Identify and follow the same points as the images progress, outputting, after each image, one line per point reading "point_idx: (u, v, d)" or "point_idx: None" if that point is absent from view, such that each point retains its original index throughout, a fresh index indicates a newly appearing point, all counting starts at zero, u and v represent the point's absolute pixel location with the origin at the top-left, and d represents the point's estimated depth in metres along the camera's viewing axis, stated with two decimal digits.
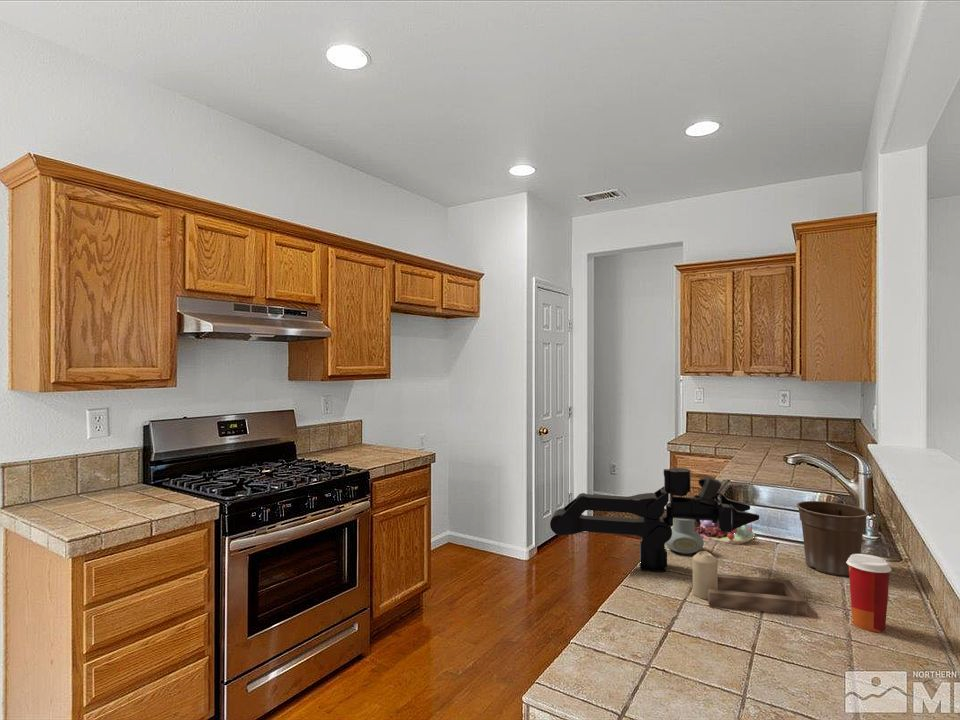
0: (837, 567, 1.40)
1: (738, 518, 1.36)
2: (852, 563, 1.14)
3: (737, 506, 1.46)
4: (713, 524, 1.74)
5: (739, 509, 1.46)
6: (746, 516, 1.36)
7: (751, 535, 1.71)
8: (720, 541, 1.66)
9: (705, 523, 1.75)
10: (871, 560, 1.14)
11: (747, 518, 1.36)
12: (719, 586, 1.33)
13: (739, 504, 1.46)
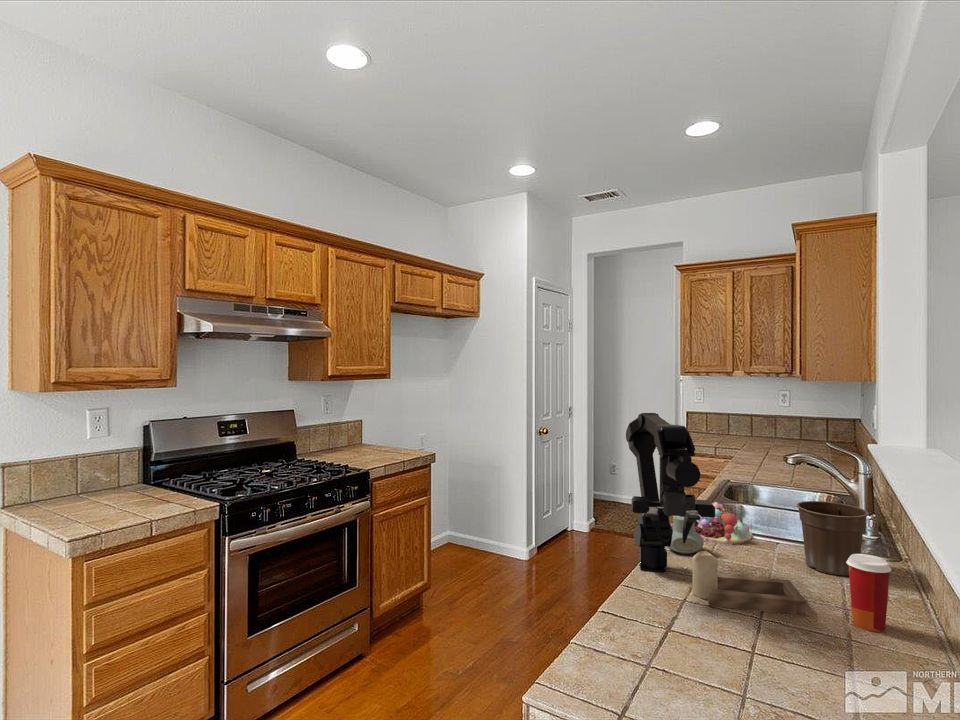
0: (837, 567, 1.40)
1: None
2: (852, 563, 1.14)
3: (684, 529, 1.31)
4: (710, 524, 1.74)
5: (683, 531, 1.31)
6: (655, 528, 1.32)
7: (748, 535, 1.71)
8: (717, 541, 1.66)
9: (702, 523, 1.75)
10: (871, 560, 1.14)
11: None
12: (719, 586, 1.33)
13: (683, 532, 1.30)
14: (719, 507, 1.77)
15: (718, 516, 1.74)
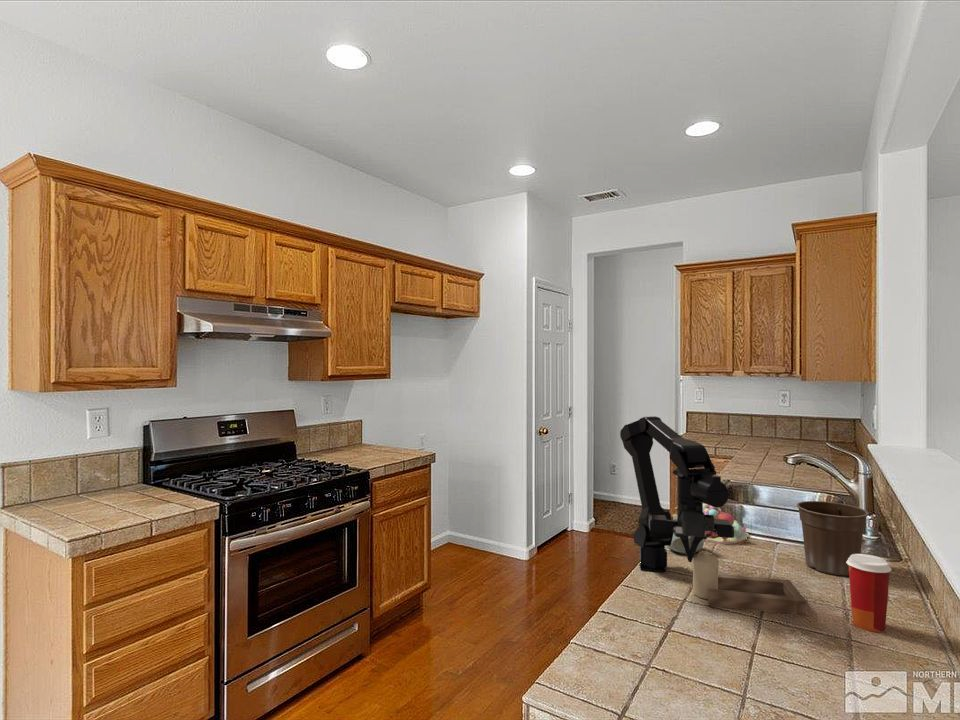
0: (837, 567, 1.40)
1: None
2: (852, 563, 1.14)
3: (691, 548, 1.30)
4: None
5: None
6: (684, 548, 1.30)
7: (745, 535, 1.71)
8: (714, 541, 1.66)
9: None
10: (871, 560, 1.14)
11: (684, 548, 1.31)
12: (719, 586, 1.33)
13: (690, 551, 1.30)
14: None
15: (715, 516, 1.74)
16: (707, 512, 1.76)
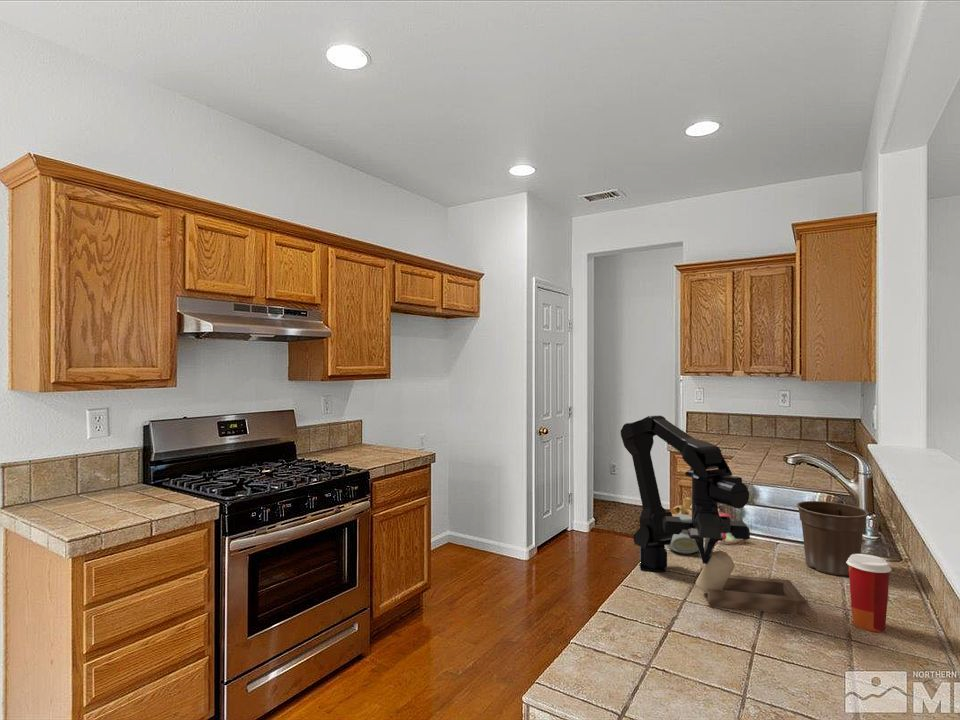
0: (837, 567, 1.40)
1: None
2: (852, 563, 1.14)
3: (706, 550, 1.30)
4: None
5: (704, 551, 1.30)
6: (699, 549, 1.30)
7: None
8: None
9: None
10: (871, 560, 1.14)
11: (699, 550, 1.30)
12: None
13: (705, 553, 1.29)
14: None
15: None
16: None
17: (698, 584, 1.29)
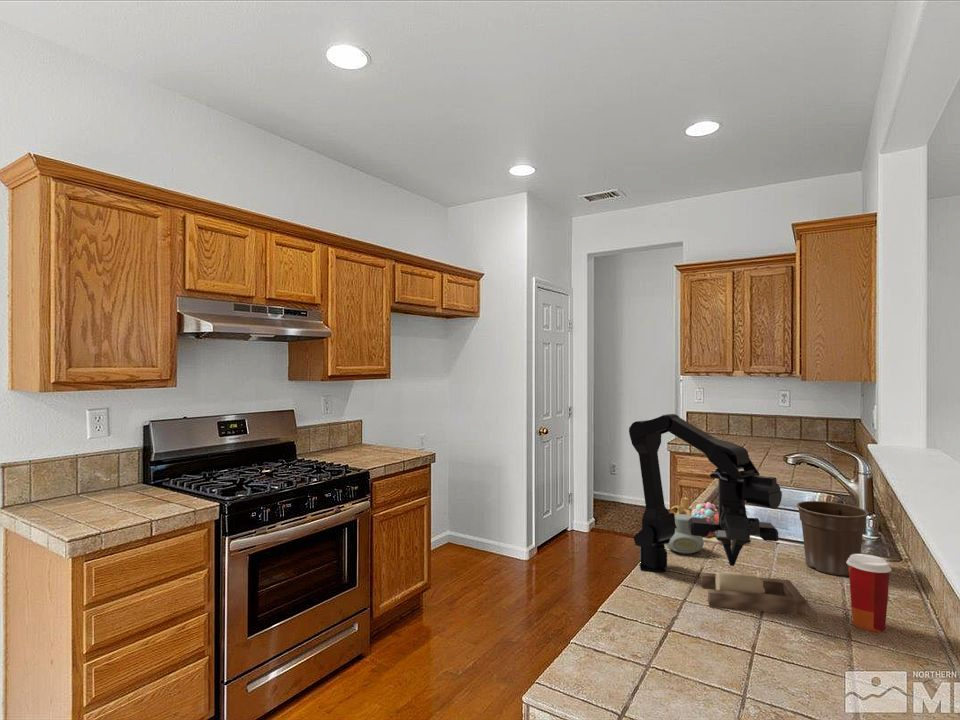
0: (837, 567, 1.40)
1: None
2: (852, 563, 1.14)
3: (733, 552, 1.28)
4: None
5: None
6: (726, 551, 1.28)
7: None
8: (710, 541, 1.66)
9: None
10: (871, 560, 1.14)
11: None
12: None
13: (732, 555, 1.28)
14: (712, 507, 1.77)
15: (710, 516, 1.74)
16: (703, 512, 1.76)
17: (720, 576, 1.28)
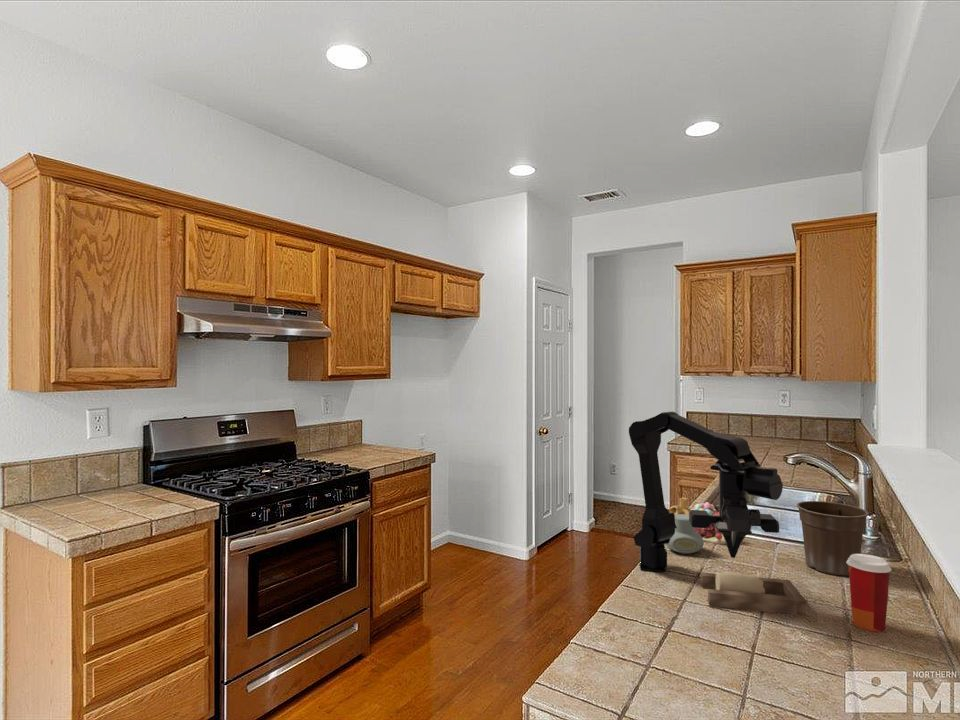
0: (837, 567, 1.40)
1: None
2: (852, 563, 1.14)
3: (734, 543, 1.28)
4: None
5: (732, 545, 1.29)
6: (726, 543, 1.28)
7: None
8: (708, 541, 1.66)
9: None
10: (871, 560, 1.14)
11: (726, 544, 1.29)
12: None
13: (733, 547, 1.27)
14: (710, 507, 1.77)
15: None
16: None
17: (720, 576, 1.28)
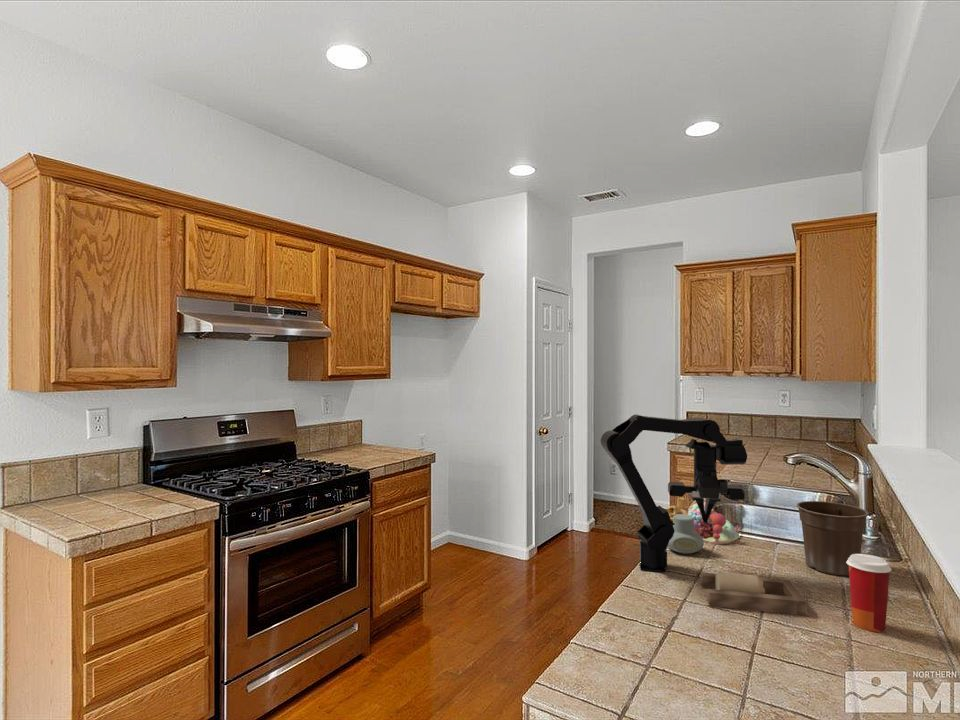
0: (837, 567, 1.40)
1: None
2: (852, 563, 1.14)
3: (706, 510, 1.47)
4: (699, 524, 1.74)
5: None
6: (700, 510, 1.47)
7: (737, 535, 1.71)
8: (706, 541, 1.66)
9: None
10: (871, 560, 1.14)
11: (700, 510, 1.48)
12: None
13: (705, 513, 1.47)
14: None
15: None
16: (699, 512, 1.76)
17: (720, 576, 1.28)
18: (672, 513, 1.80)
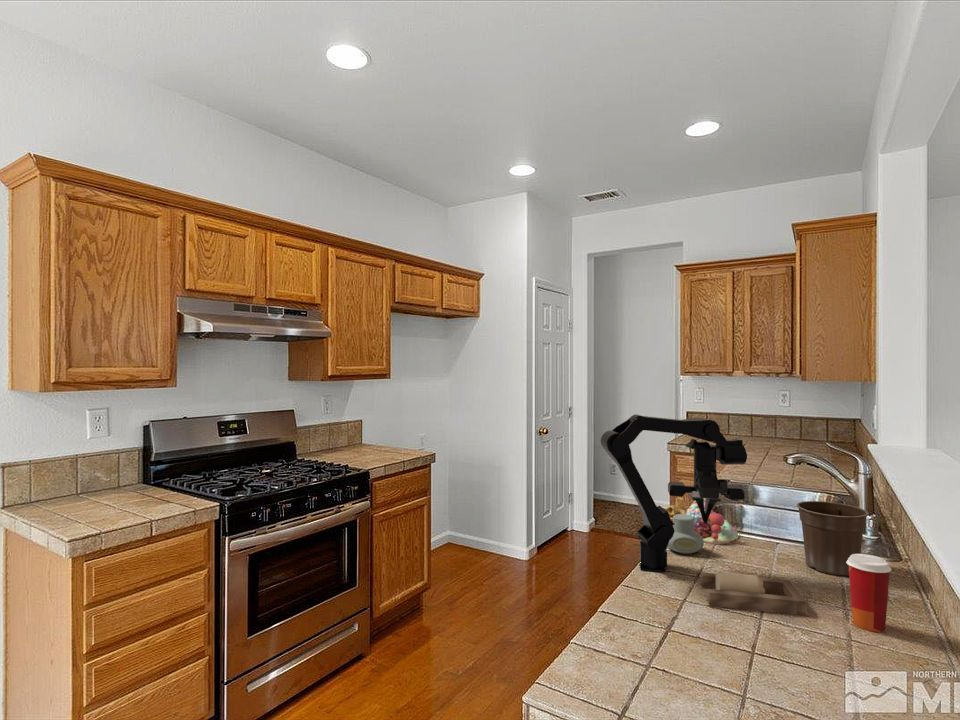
0: (837, 567, 1.40)
1: None
2: (852, 563, 1.14)
3: (706, 510, 1.47)
4: (698, 524, 1.74)
5: None
6: (700, 510, 1.47)
7: (735, 535, 1.71)
8: (704, 541, 1.66)
9: None
10: (871, 560, 1.14)
11: None
12: None
13: (705, 513, 1.47)
14: None
15: None
16: (698, 512, 1.76)
17: (720, 576, 1.28)
18: (671, 513, 1.80)
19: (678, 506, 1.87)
